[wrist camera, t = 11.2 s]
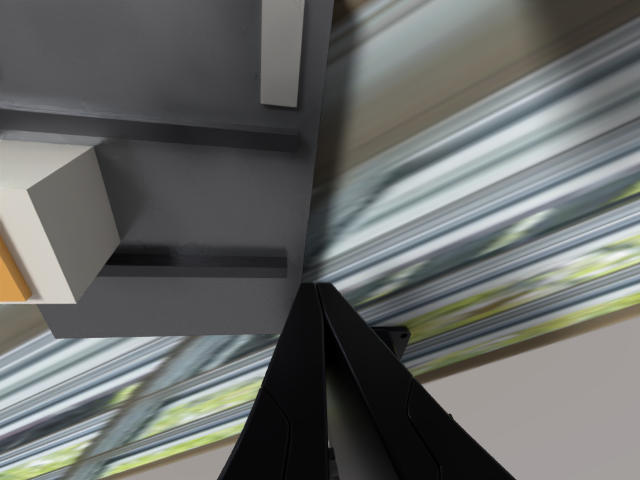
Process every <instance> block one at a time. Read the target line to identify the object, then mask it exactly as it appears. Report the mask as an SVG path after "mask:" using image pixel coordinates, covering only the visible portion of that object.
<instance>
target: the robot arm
mask: <svg viewBox="0 0 640 480" xmlns="http://www.w3.org/2000/svg"><path fill="white" fill-rule="evenodd" d="M410 336H411V333H410V331H409V329H408V328H407V327H370V326H369V325H368V324H367V323H366V322H365V321H364V320H363V318H362V317H361V316H360V315H359V314H358V313H357V312H356V310H355V309H354V308H353V307H352V306H351V305H350V304H349V303H348V301H347V300H346V299H345V298H344V297H343V296H342V295H341V293H340V292H339V291H338V290H337V289H336V288H335V287H334V286H333V284H331V283H329V282H323V283H317V284H315V283H301V284H300V286H299V288H298V291H297V294H296V296H295V299H294V301H293V304H292V307H291V309H290V312H289V314H288V317H287V320H286V322H285V325H284V327H283V330H282V333H281V335H280V338H279V340H278V343H277V346H276V348H275V351H274V353H273V356H272V358H271V361H270V364H269V366H268V369H267V371H266V374H265V377H264V379H263V382H262V384H261V388H260V389H259V392H258V394H257V397H256V399H255V402H254V404H253V407H252V409H251V411H250V414H249V416H248V419H247V421H246V423H245V426H244V428H243V430H242V432H241V434H240V436H239V438H238V440H237V442H236V444H235V446H234V448H233V450H232V452H231V455H230V456H229V458H228V460H227V462H226V464H225V466H224V468H223V470H222V471H221V473H220V475H219V477H218V479H217V480H516V479H515V478H514V477H513V476H512V475H511V474H510V473H509V472H508V471H506V469H505V468H504V467H502V466H501V465H500V464H499V463H498V462H497V461H496V460H495V459H494V458H493V457H492V456H491V455H490V454H489V453H488V452H487V451H486V450H485V449H484V448H482V447H481V446H480V445H479V444H478V443H477V442H476V441H475V440H474V439H473V438H472V437H471V436H470V435H469V434H468V433H467V432H466V431H465V430H464V429H463V428H462V427H461V426H460V425H459V424H458V423H457V422H456V421H455V420H454V419H453V417H452V415H451V414H448V413H446V411H445V410H444V409H443V408H442V407H441V406H440V405H439V404H438V403H437V402H436V401H435V399H434V398H433V397H431V395H430V394H429V393H428V392H427V391H426V390H425V389H424V388H423V386H422V385H421V384H420V383H419V382H418V381H417V379H416V378H413V375H412V374H411V373H410V372H409V371H408V369H407V368H406V367H405V366H404V365H403V364H402V363H401V361H400V359H401V357H402V354H403V352H404V350H405V348H406V345H407V343H408V341H409V338H410ZM328 440H329V448H328Z"/></svg>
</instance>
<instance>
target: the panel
mask: <svg viewBox="0 0 640 480" xmlns="http://www.w3.org/2000/svg"><path fill="white" fill-rule="evenodd" d="M333 6H334V0H0V139H1V140H14V141H27V142H41V143H54V144H67V145H81V146H93V147H94V150H95V154H96V157H97V161H98V164H99V168H100V171H101V175H102V178H103V182H104V185H105V189H106V192H107V196H108V199H109V203H110V206H111V210H112V213H113V217H114V220H115V224H116V227H117V231H118V234H119V238H120V241H121V242H120V244H119V245H118V247H117V248H116V249H115V251H114V252H113V254H112V255H111V256H110V258H109V259H108V260H107V262H106V263H105V265H104V266H103V267H102V269H101V270H100V272H99V273H98V274H97V276H96V277H95V278H94V280H93V281H92V283H91V284H90V285H89V287H88V288H87V290H86V291H85V292H84V294H83V295H82V297H81V298H80V299H79V301H78V302H77V303H76V304H37V306H38V308H39V309H40V311H41V313H42V315H43V317H44V319H45V321H46V322H47V324H48V326H49V328H50V330H51V332H52V333H53V335H54V337H55V339H61V338H106V337H152V336H197V335H243V334H281V333H282V330H283V327H284V325H285V322H286V320H287V317H288V314H289V312H290V309H291V307H292V304H293V301H294V299H295V296H296V294H297V291H298V288H299V286H300V284H301V279H302V271H303V262H304V254H305V245H306V237H307V228H308V220H309V211H310V203H311V194H312V185H313V177H314V168H315V160H316V151H317V143H318V134H319V126H320V117H321V109H322V100H323V91H324V83H325V74H326V66H327V57H328V49H329V40H330V32H331V23H332V15H333Z"/></svg>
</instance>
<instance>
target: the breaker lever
mask: <svg viewBox="0 0 640 480" xmlns="http://www.w3.org/2000/svg"><path fill="white" fill-rule="evenodd" d="M120 242H121V241H120V238H119V234H118V231H117V227H116V224H115V220H114V217H113V213H112V210H111V206H110V203H109V199H108V196H107V192H106V189H105V185H104V182H103V178H102V175H101V171H100V168H99V164H98V161H97V157H96V154H95V150H94V147H93V146H81V145H67V144H54V143H41V142H27V141H14V140H1V139H0V304H76V303H77V302H78V301H79V299H80V298H81V297H82V295H83V294H84V292H85V291H86V290H87V288H88V287H89V285H90V284H91V283H92V281H93V280H94V278H95V277H96V276H97V274H98V273H99V272H100V270H101V269H102V267H103V266H104V265H105V263H106V262H107V260H108V259H109V258H110V256H111V255H112V254H113V252H114V251H115V249H116V248H117V247H118V245H119V244H120Z"/></svg>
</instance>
